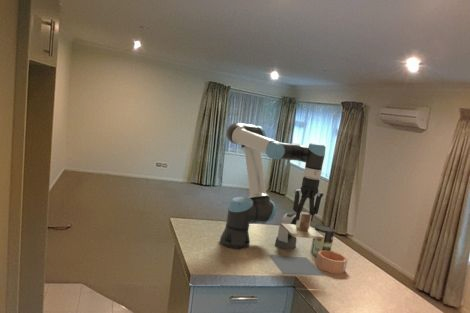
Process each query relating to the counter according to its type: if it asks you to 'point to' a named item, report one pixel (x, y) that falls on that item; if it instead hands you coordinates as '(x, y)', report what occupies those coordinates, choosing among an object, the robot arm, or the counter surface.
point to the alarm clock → (286, 233)
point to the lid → (302, 228)
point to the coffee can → (322, 243)
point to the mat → (295, 265)
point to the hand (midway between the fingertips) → (302, 227)
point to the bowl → (331, 261)
